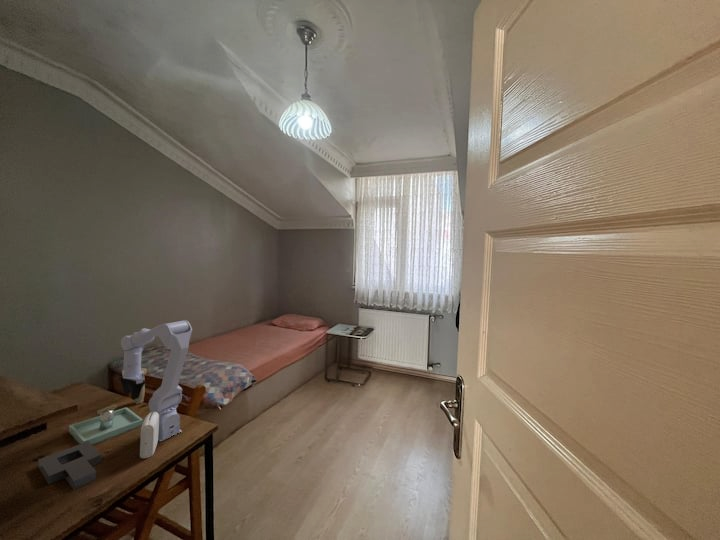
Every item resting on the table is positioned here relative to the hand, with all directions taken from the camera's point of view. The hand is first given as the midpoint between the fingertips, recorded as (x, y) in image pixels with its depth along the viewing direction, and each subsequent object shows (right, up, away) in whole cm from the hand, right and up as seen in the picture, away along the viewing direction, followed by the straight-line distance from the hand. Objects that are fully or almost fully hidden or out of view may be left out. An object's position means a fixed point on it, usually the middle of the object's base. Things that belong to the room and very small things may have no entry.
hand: (131, 395), depth 121 cm
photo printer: (+20, -12, -17) cm, 29 cm away
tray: (-4, -10, -7) cm, 13 cm away
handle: (-7, -9, +14) cm, 18 cm away
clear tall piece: (-4, -9, -7) cm, 12 cm away
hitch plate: (+5, -11, -29) cm, 31 cm away
